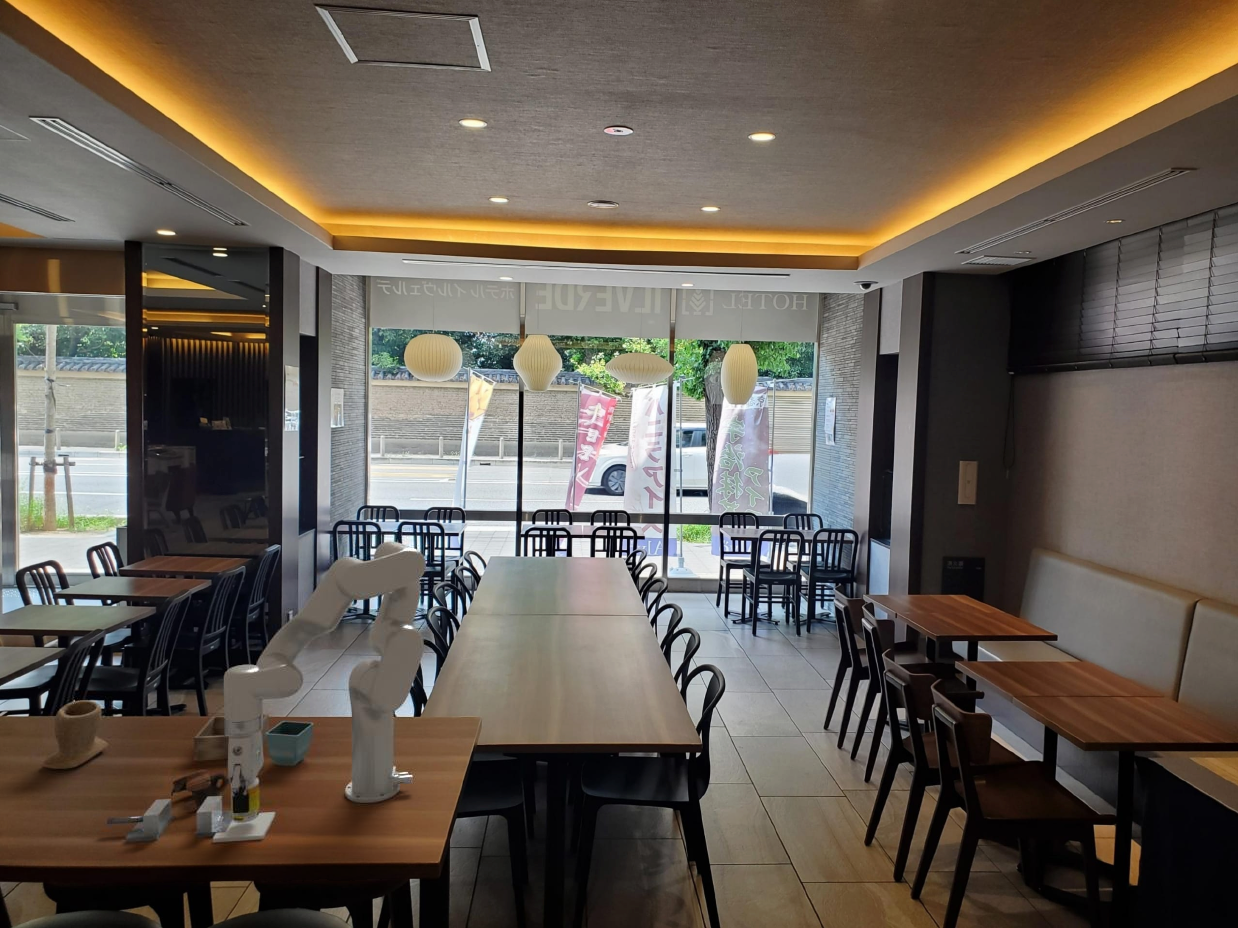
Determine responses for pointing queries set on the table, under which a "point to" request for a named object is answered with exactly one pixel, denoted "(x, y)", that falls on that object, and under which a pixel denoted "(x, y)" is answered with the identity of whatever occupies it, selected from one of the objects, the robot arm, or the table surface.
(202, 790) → the pottery mug
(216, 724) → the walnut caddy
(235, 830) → the white coaster
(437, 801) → the table surface
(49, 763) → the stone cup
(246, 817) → the supplement bottle
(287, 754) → the flower pot
